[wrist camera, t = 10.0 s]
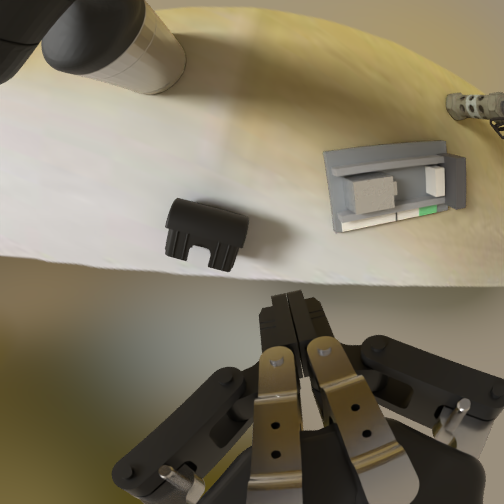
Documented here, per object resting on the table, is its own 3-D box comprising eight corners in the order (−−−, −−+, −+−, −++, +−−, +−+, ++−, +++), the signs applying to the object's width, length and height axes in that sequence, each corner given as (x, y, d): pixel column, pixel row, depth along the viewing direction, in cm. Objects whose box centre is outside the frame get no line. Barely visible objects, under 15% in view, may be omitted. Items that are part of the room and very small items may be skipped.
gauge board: (322, 151, 36) (337, 155, 30) (441, 140, 34) (465, 144, 29) (333, 230, 41) (347, 246, 35) (443, 207, 39) (465, 219, 34)
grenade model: (443, 125, 33) (508, 134, 20) (445, 88, 31) (508, 86, 17) (467, 135, 34) (528, 148, 20) (468, 100, 31) (529, 104, 17)
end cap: (248, 210, 39) (249, 226, 33) (235, 254, 42) (233, 276, 36) (181, 192, 38) (169, 204, 32) (171, 237, 40) (159, 256, 34)
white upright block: (424, 165, 35) (435, 168, 33) (433, 164, 35) (444, 167, 32) (426, 192, 37) (436, 197, 34) (434, 191, 37) (444, 195, 34)
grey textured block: (342, 177, 36) (353, 182, 32) (388, 170, 36) (401, 175, 32) (346, 206, 38) (356, 214, 34) (390, 198, 37) (403, 205, 34)
